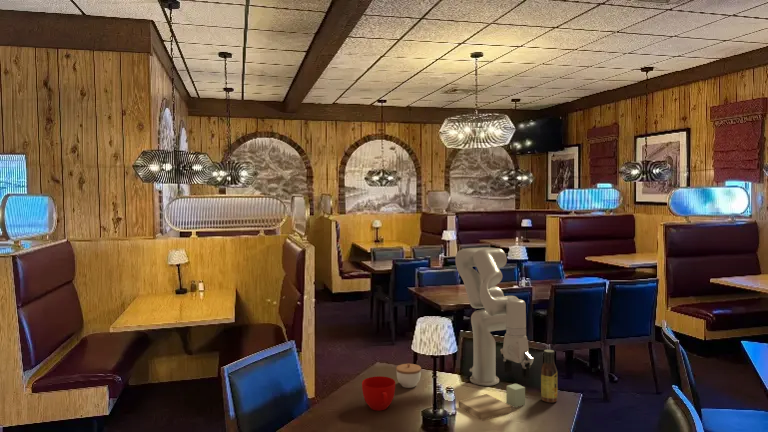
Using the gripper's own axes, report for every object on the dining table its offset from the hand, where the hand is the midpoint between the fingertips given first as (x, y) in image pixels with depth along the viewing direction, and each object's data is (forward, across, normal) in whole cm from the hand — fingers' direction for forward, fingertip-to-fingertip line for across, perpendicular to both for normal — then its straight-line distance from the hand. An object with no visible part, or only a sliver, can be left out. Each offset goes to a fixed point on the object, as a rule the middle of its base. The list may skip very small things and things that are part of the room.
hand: (516, 374), depth 214 cm
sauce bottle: (+12, +3, +14) cm, 19 cm away
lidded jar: (+11, -40, -25) cm, 48 cm away
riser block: (+12, -3, -14) cm, 19 cm away
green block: (+12, -1, 0) cm, 12 cm away
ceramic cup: (+12, -24, -48) cm, 55 cm away
